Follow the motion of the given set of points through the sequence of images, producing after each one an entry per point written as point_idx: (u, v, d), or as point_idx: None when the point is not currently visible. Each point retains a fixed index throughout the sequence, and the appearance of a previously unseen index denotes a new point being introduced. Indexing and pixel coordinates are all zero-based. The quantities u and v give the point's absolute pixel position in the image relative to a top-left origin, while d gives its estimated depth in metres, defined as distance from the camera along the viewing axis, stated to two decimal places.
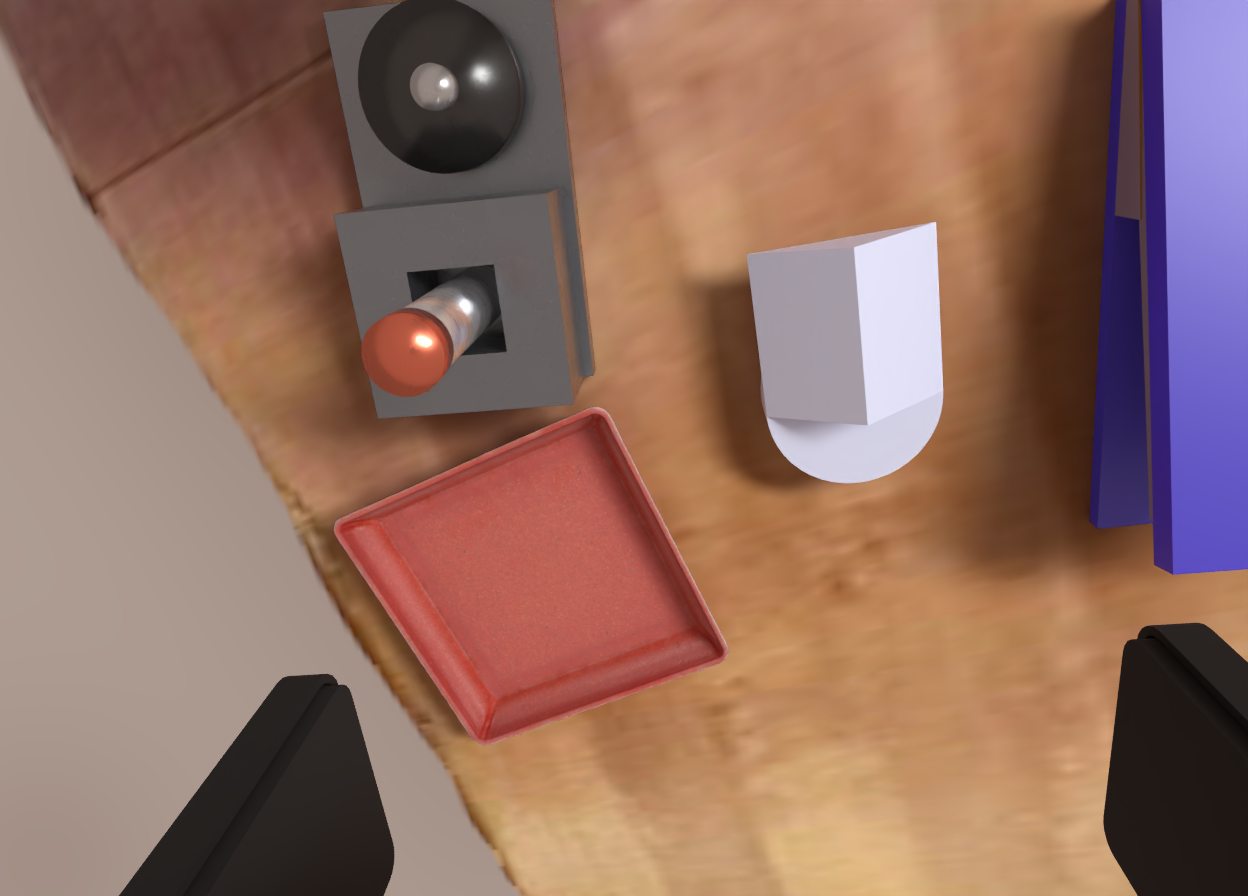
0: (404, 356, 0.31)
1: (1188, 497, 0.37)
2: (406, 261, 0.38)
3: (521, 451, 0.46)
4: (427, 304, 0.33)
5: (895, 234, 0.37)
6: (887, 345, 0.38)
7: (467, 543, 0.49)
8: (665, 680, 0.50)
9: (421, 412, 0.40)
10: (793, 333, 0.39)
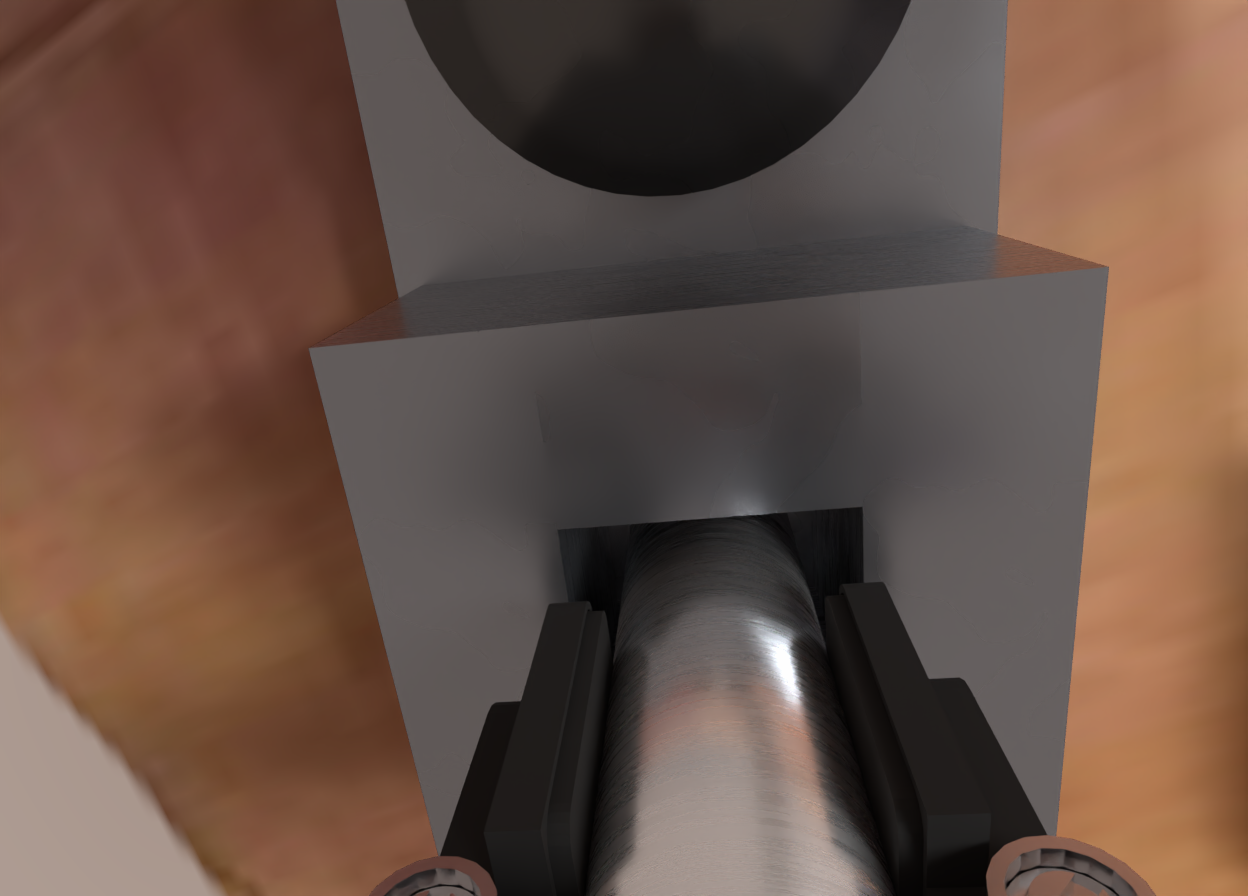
0: None
1: None
2: (558, 497, 0.11)
3: None
4: None
5: None
6: None
7: None
8: None
9: None
10: None
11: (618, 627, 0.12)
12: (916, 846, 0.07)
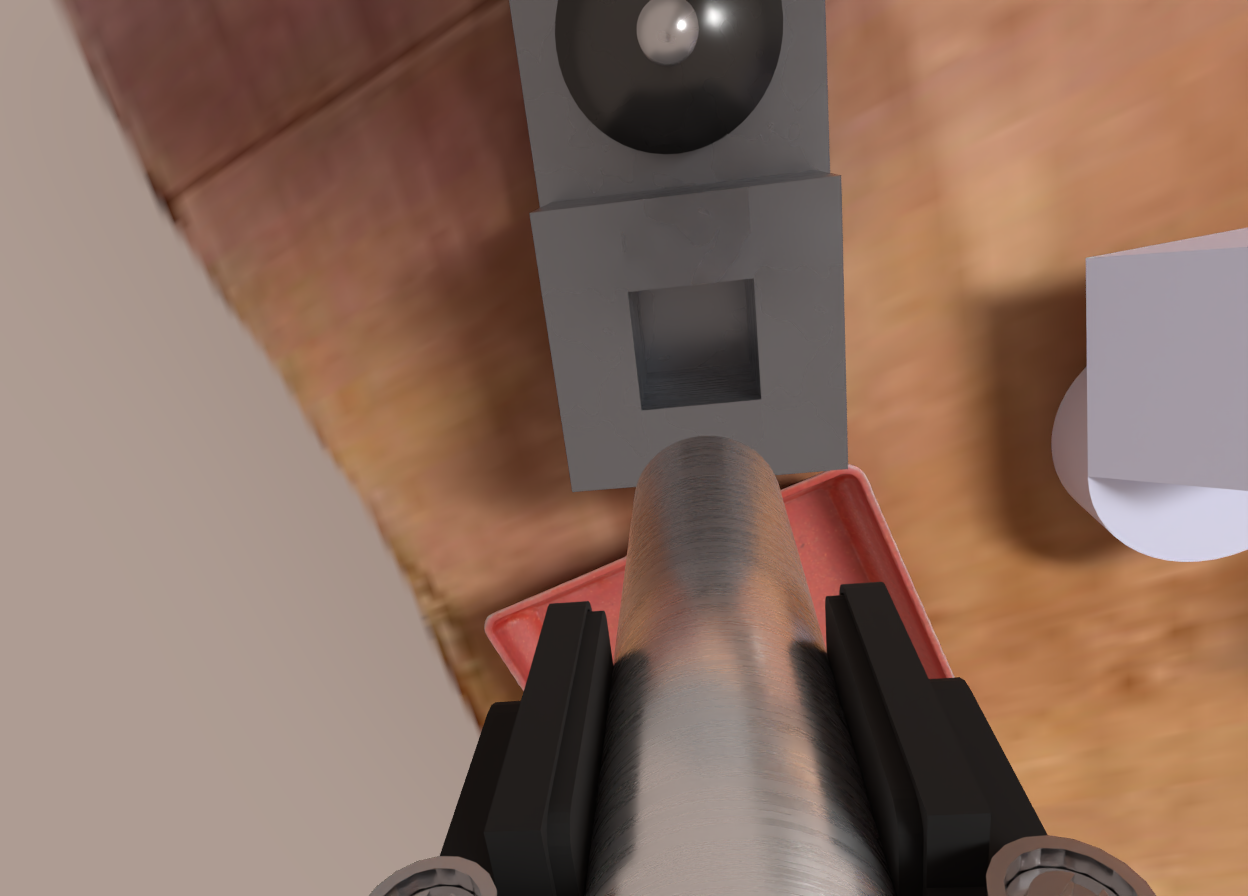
0: None
1: None
2: (628, 276, 0.27)
3: None
4: None
5: None
6: None
7: None
8: None
9: (633, 482, 0.30)
10: (1154, 366, 0.28)
11: (618, 627, 0.12)
12: (916, 846, 0.07)
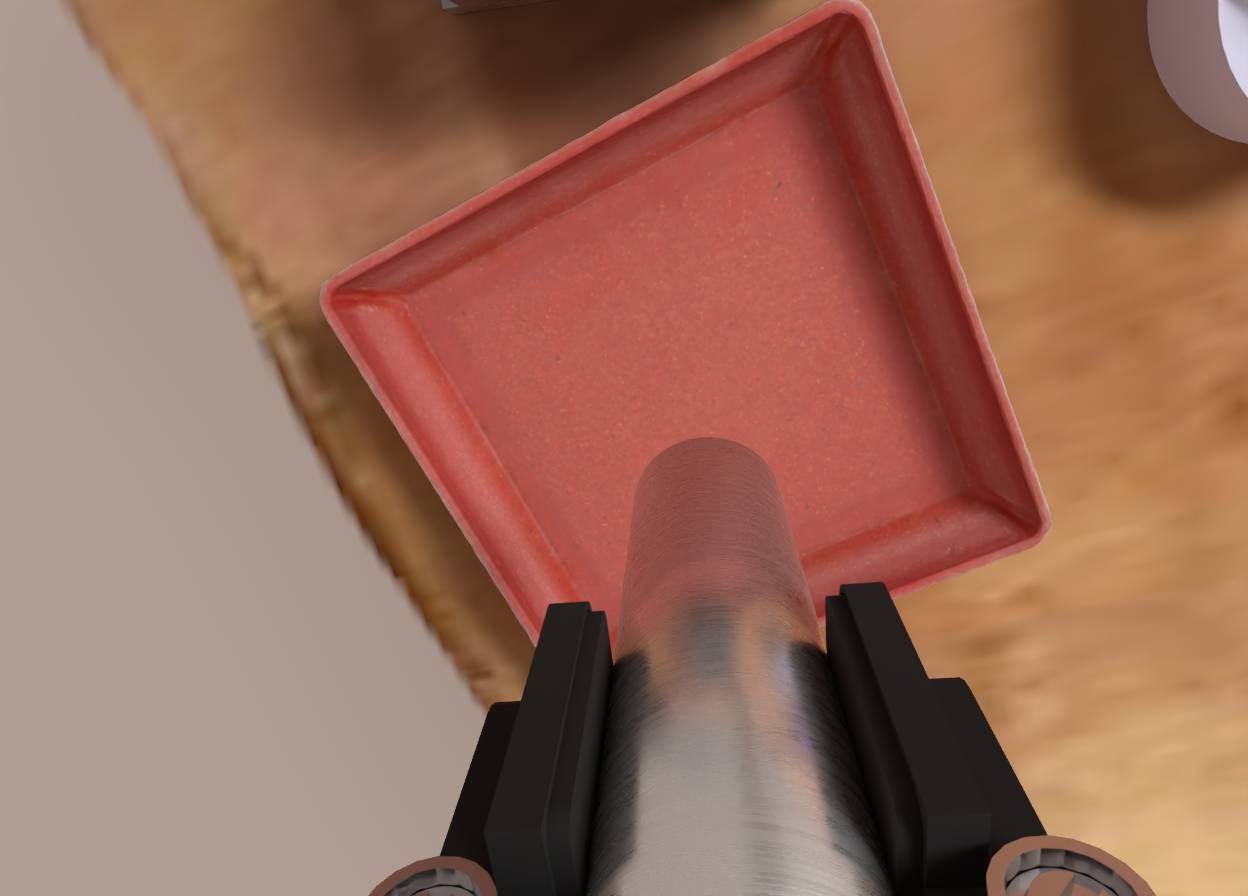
0: None
1: None
2: None
3: (673, 137, 0.24)
4: None
5: None
6: None
7: (562, 341, 0.27)
8: (925, 583, 0.27)
9: None
10: None
11: (618, 630, 0.12)
12: (916, 846, 0.07)
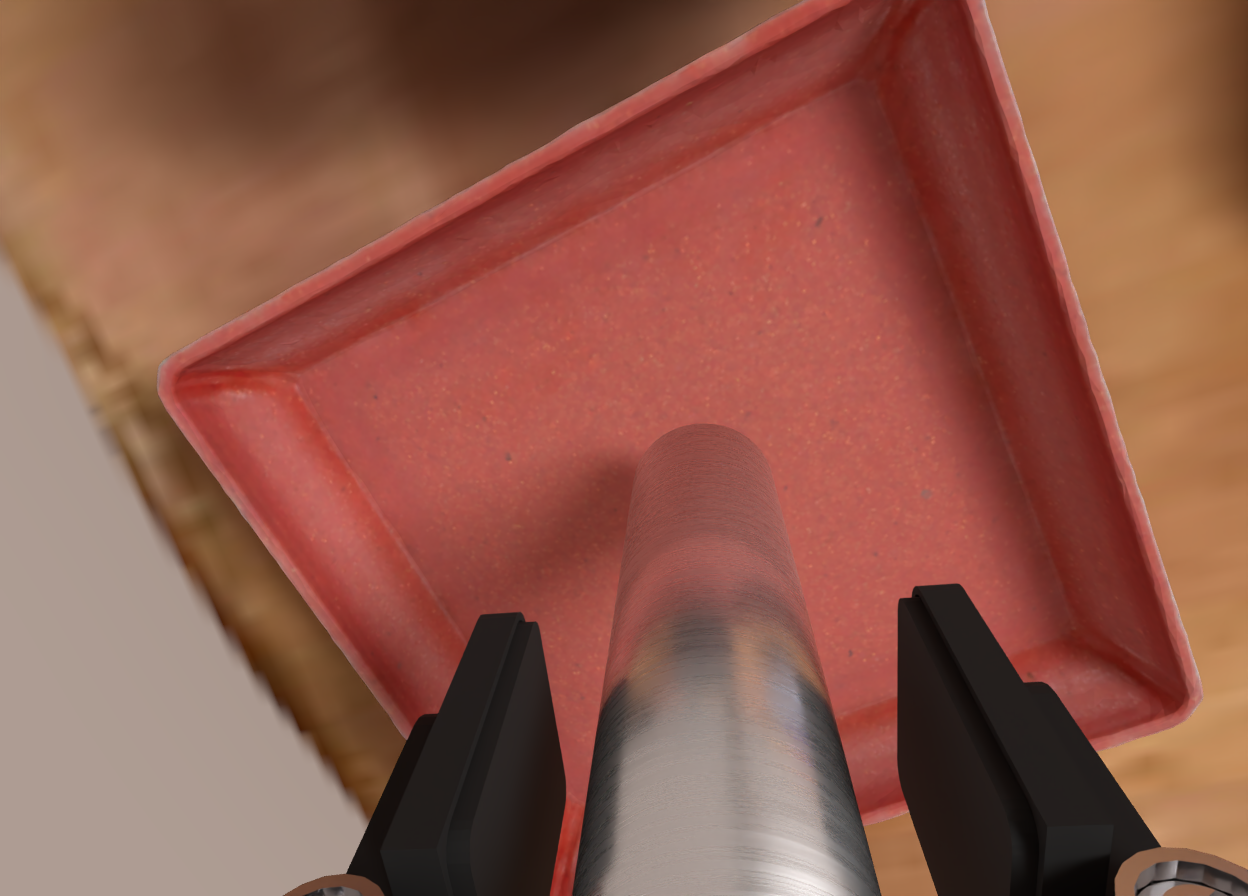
0: None
1: None
2: None
3: (666, 153, 0.17)
4: (763, 823, 0.07)
5: None
6: None
7: (514, 435, 0.20)
8: None
9: None
10: None
11: (616, 599, 0.13)
12: (1031, 858, 0.07)
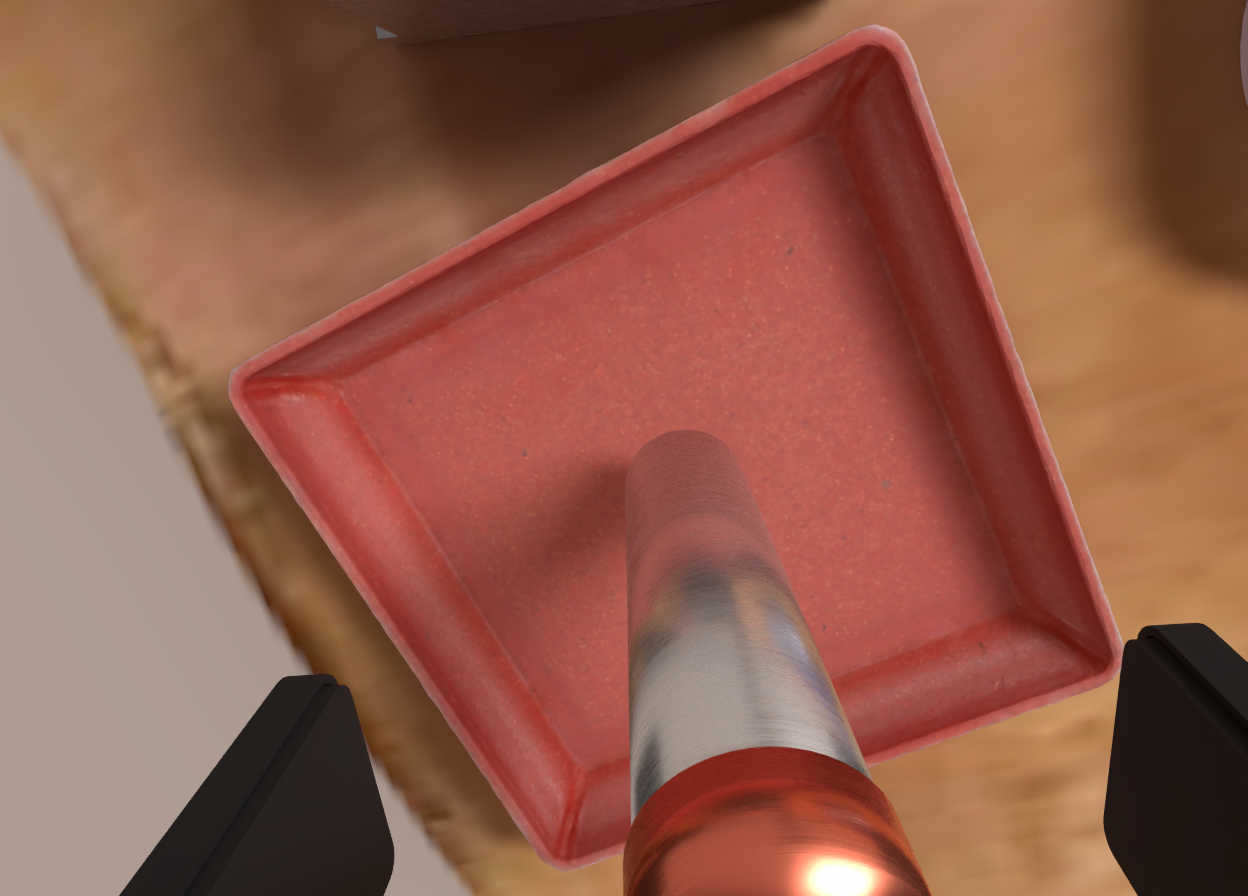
0: None
1: None
2: None
3: (661, 194, 0.20)
4: (770, 683, 0.10)
5: None
6: None
7: (530, 433, 0.23)
8: (971, 727, 0.23)
9: None
10: None
11: (628, 569, 0.15)
12: None
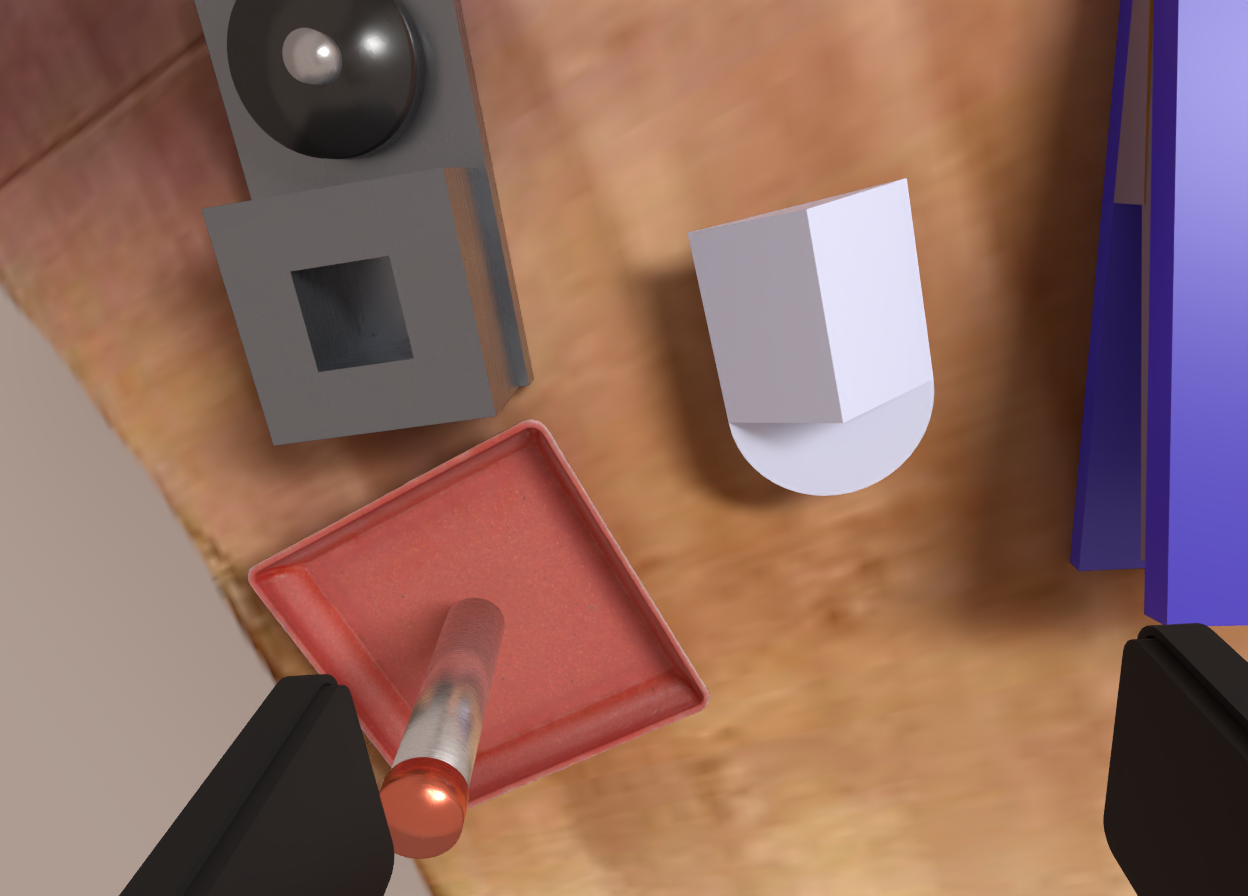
0: (419, 822, 0.28)
1: (1188, 534, 0.31)
2: (288, 258, 0.32)
3: (454, 477, 0.41)
4: (434, 735, 0.31)
5: (857, 193, 0.31)
6: (858, 325, 0.32)
7: (405, 586, 0.43)
8: (639, 734, 0.43)
9: (322, 435, 0.35)
10: (748, 321, 0.34)
11: None
12: None
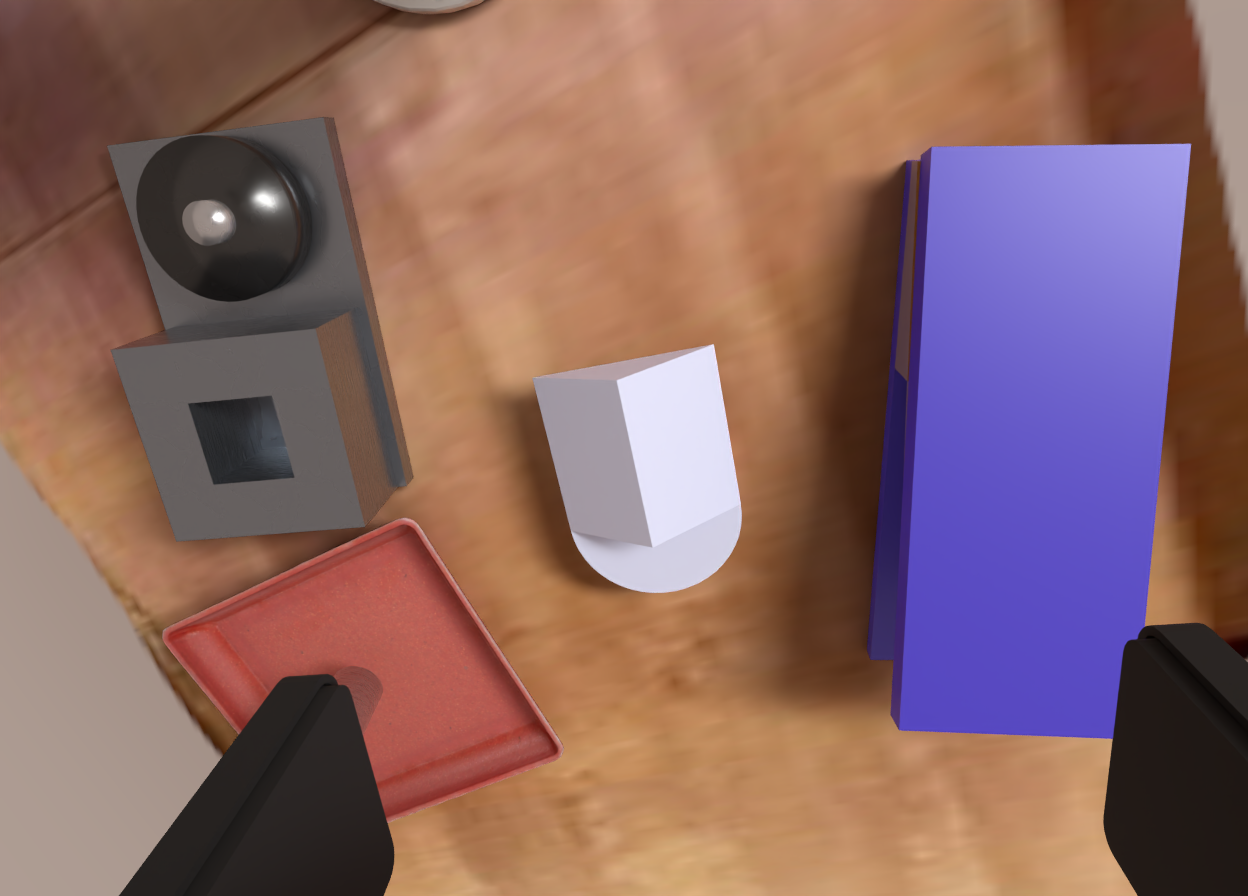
0: None
1: (919, 658, 0.38)
2: (186, 393, 0.38)
3: (344, 557, 0.47)
4: None
5: (666, 361, 0.37)
6: (667, 468, 0.38)
7: (303, 644, 0.50)
8: (504, 777, 0.50)
9: (218, 535, 0.41)
10: (580, 455, 0.40)
11: None
12: None
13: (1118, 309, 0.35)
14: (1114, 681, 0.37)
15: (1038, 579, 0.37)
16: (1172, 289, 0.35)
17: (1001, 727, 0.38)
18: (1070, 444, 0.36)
